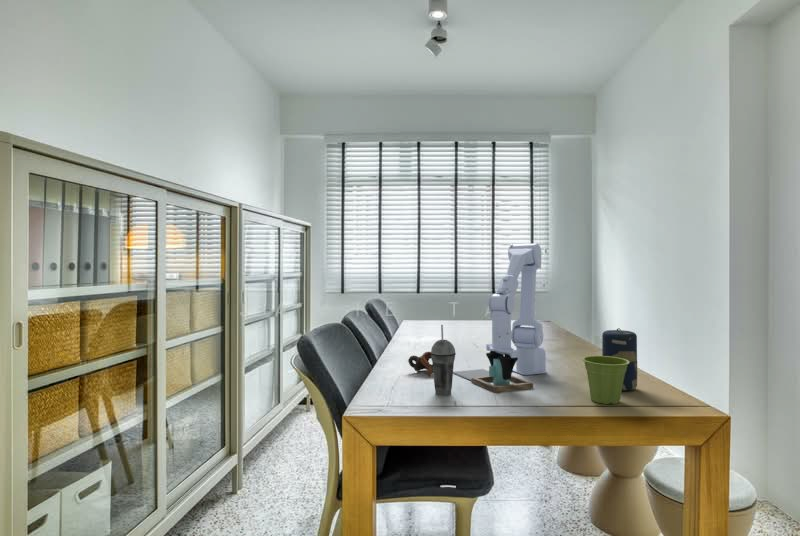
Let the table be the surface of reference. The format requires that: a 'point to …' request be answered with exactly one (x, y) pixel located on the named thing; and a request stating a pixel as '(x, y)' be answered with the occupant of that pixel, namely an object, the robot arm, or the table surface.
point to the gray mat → (472, 373)
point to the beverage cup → (443, 365)
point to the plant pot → (605, 377)
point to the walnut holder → (520, 385)
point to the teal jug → (497, 373)
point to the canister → (622, 353)
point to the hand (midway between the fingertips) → (501, 377)
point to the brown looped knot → (422, 363)
